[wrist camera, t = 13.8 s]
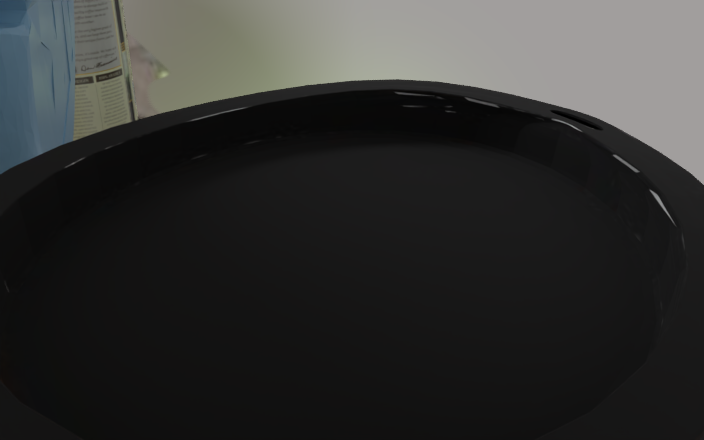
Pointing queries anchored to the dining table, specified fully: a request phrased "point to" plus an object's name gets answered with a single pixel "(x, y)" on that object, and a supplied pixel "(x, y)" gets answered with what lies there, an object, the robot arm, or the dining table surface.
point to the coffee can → (101, 68)
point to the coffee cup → (353, 274)
